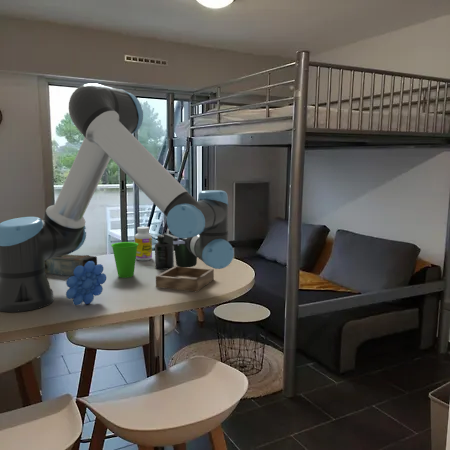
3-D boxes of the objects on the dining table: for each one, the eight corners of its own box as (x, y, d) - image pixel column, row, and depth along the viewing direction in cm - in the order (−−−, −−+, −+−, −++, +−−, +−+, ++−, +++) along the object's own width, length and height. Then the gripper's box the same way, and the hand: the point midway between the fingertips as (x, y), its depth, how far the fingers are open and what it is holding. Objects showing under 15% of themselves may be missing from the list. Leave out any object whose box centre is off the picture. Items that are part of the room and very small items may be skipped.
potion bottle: (188, 260, 144) (187, 207, 141) (204, 265, 138) (203, 209, 135) (168, 265, 138) (167, 209, 135) (183, 269, 132) (182, 211, 130)
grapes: (100, 295, 126) (98, 255, 124) (111, 301, 121) (109, 259, 119) (60, 304, 118) (58, 262, 117) (70, 311, 114) (68, 266, 112)
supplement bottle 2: (177, 267, 159) (177, 235, 157) (163, 270, 154) (162, 237, 153) (166, 264, 164) (165, 233, 162) (151, 267, 159) (150, 235, 157)
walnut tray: (156, 287, 135) (155, 276, 134) (175, 275, 148) (175, 265, 147) (197, 291, 130) (196, 280, 130) (213, 279, 143) (213, 269, 143)
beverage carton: (54, 268, 158) (54, 250, 157) (98, 273, 152) (98, 254, 151) (39, 273, 151) (37, 255, 150) (84, 278, 145) (83, 259, 144)
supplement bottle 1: (141, 261, 168) (140, 229, 166) (132, 259, 172) (131, 227, 170) (155, 259, 172) (154, 227, 170) (145, 256, 177) (145, 225, 175)
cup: (133, 280, 142) (132, 247, 141) (107, 278, 144) (106, 246, 142) (143, 273, 151) (142, 242, 149) (119, 271, 153) (118, 241, 151)
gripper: (165, 260, 117) (150, 245, 138) (237, 254, 124) (212, 241, 145) (165, 233, 116) (149, 222, 137) (237, 229, 123) (212, 219, 144)
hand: (181, 232), depth 141 cm, fingers closed on potion bottle, 8 cm apart
